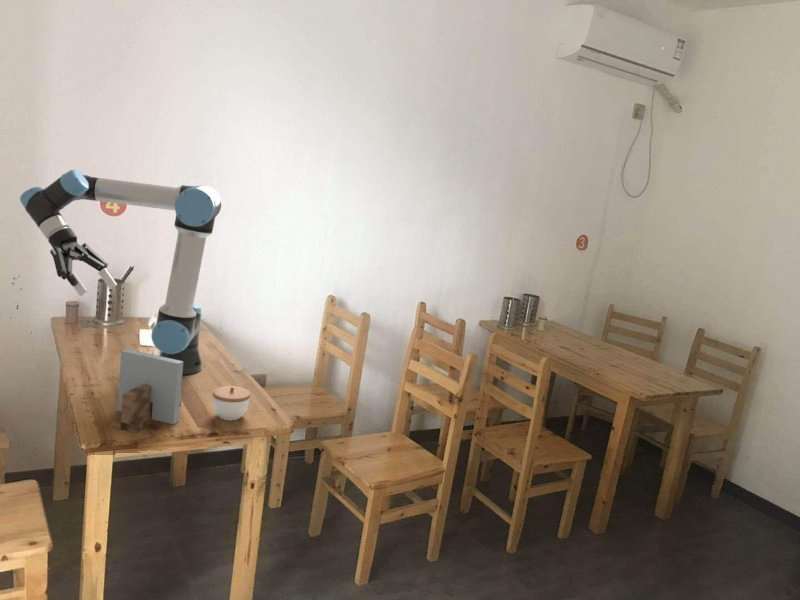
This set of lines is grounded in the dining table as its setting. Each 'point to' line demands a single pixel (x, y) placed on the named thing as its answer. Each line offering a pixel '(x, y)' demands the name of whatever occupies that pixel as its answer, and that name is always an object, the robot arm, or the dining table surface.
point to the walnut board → (135, 409)
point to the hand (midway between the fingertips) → (99, 290)
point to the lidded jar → (230, 402)
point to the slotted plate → (153, 382)
